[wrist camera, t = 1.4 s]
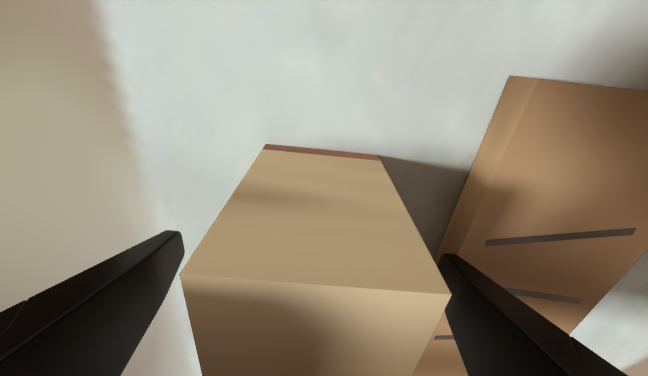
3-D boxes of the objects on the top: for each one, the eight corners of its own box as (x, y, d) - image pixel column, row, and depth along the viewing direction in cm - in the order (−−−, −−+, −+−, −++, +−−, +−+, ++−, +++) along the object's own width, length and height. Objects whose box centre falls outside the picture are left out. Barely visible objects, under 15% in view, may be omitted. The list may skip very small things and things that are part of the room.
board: (502, 370, 16) (515, 393, 14) (391, 363, 15) (396, 386, 14) (717, 100, 8) (777, 107, 7) (509, 75, 8) (539, 78, 7)
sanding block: (351, 274, 12) (373, 451, 7) (266, 267, 12) (217, 444, 6) (377, 154, 9) (451, 294, 4) (266, 143, 9) (179, 274, 4)
